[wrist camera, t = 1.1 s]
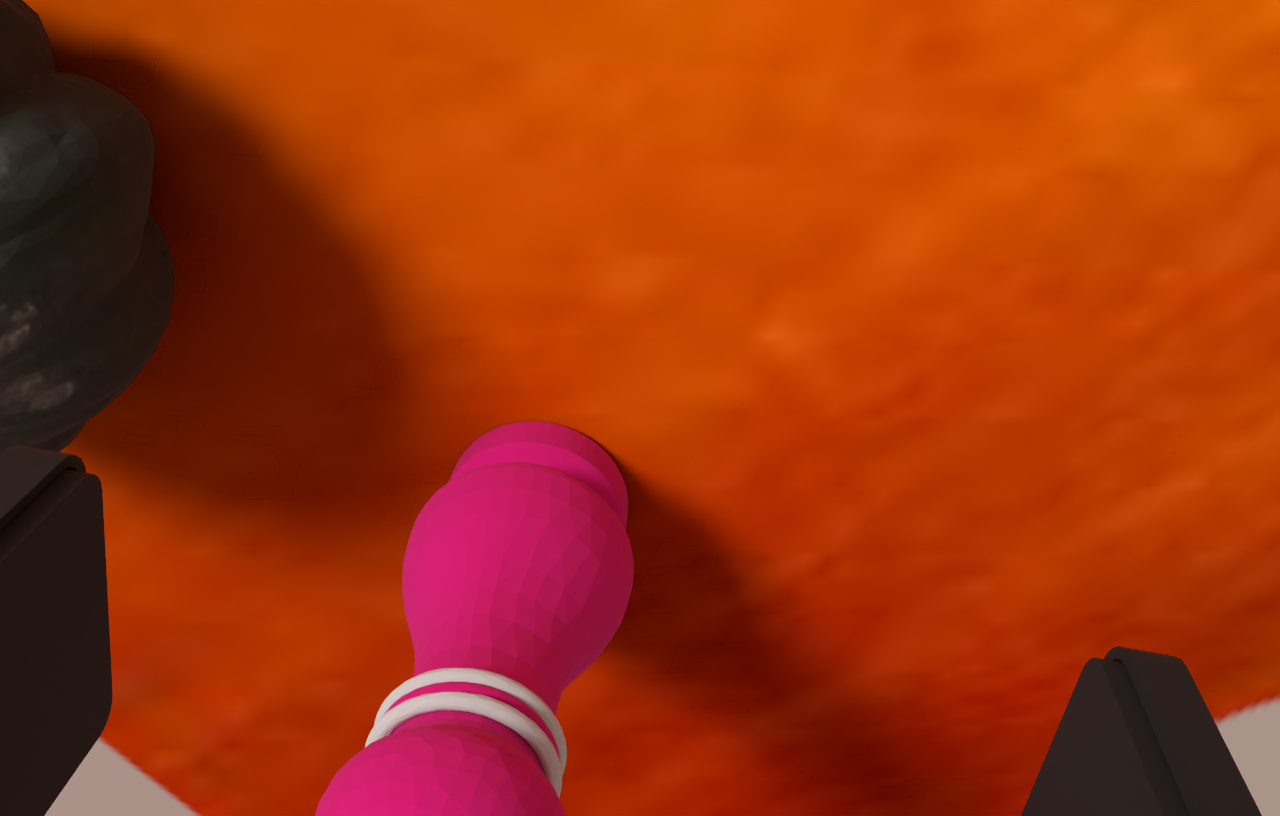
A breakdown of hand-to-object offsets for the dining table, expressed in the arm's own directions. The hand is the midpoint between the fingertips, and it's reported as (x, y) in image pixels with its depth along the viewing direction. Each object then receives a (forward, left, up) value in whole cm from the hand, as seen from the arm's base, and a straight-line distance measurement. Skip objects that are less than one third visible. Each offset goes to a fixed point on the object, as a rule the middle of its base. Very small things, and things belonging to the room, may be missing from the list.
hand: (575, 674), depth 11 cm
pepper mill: (-2, +15, -27) cm, 31 cm away
